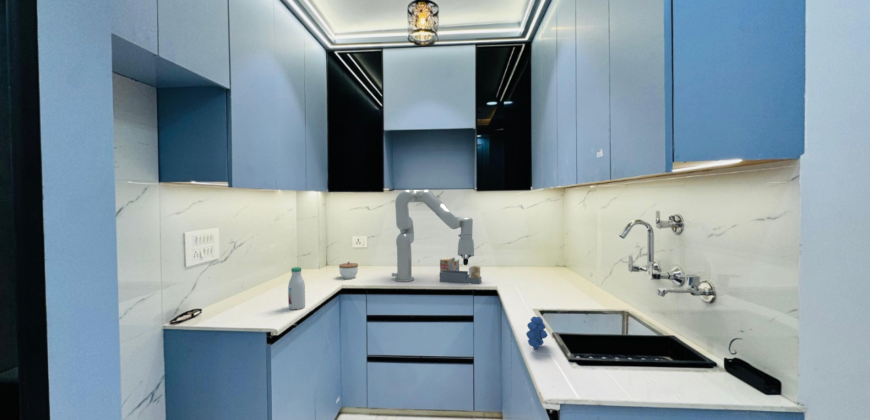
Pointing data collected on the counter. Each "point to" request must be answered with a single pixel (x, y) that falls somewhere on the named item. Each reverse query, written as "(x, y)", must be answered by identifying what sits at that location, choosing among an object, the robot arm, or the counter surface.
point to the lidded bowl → (348, 270)
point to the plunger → (469, 273)
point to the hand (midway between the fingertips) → (465, 264)
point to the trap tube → (457, 277)
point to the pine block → (475, 272)
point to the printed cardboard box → (449, 264)
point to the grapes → (536, 332)
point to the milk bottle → (296, 290)
